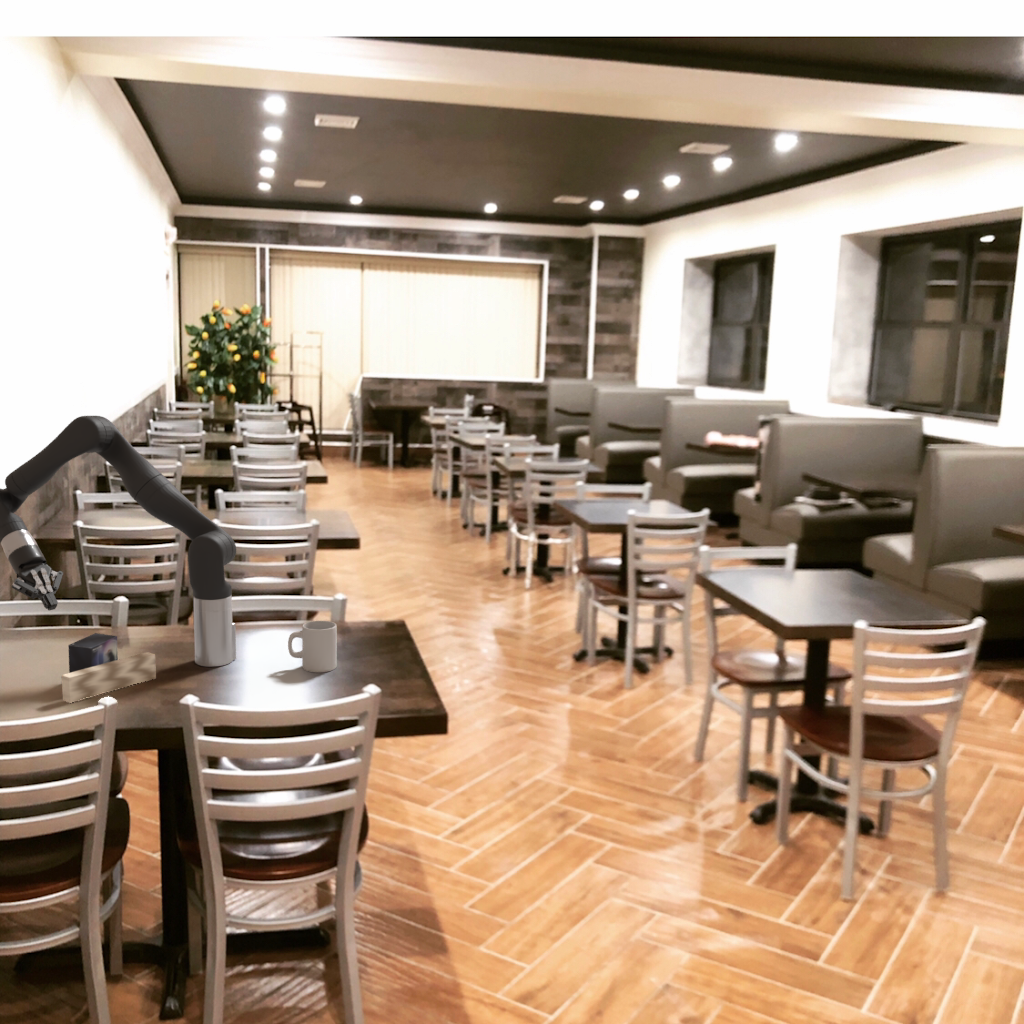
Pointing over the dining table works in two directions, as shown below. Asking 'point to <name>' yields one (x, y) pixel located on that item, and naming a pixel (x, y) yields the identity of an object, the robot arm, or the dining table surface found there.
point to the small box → (92, 651)
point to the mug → (316, 646)
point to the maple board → (108, 676)
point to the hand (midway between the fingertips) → (53, 608)
